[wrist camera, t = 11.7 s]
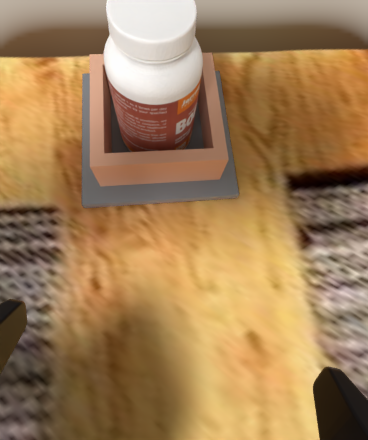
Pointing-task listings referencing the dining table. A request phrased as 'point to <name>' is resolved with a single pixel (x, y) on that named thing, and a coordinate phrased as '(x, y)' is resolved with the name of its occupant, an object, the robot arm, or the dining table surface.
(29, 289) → the dining table surface
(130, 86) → the pill bottle
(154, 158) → the bottle stand
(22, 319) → the robot arm
